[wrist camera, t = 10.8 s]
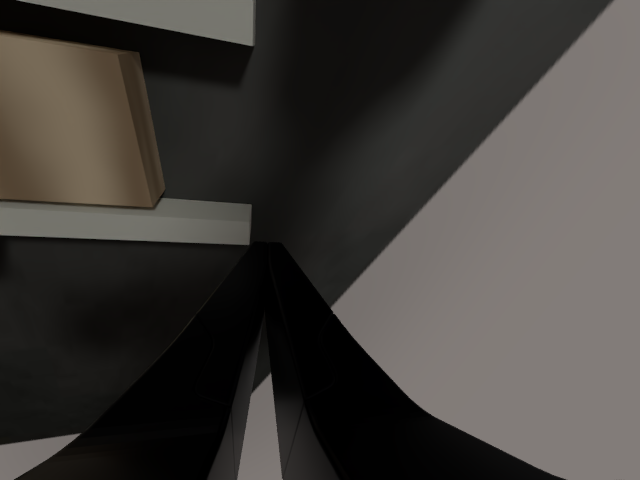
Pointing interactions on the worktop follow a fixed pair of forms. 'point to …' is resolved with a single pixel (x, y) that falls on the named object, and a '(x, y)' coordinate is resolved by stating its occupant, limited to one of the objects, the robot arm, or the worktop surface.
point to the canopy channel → (167, 214)
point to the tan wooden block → (75, 124)
